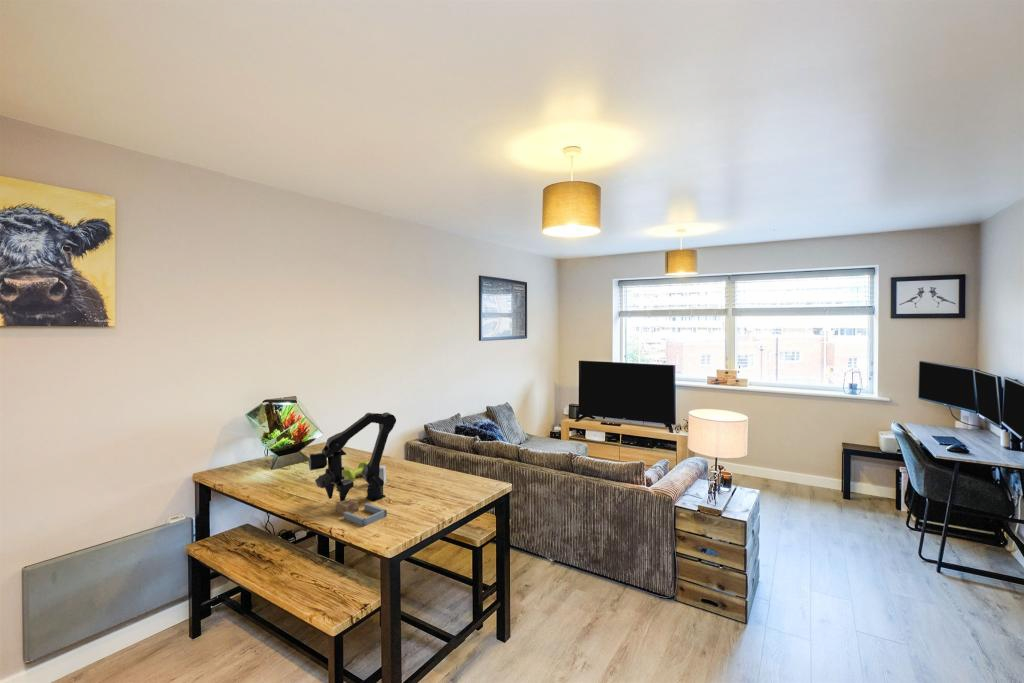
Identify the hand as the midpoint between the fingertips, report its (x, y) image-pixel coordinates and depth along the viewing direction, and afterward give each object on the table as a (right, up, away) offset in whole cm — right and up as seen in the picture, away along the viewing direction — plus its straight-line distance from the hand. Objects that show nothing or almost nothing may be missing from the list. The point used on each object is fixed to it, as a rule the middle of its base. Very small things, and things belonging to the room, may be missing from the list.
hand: (336, 500), depth 204 cm
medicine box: (+10, -1, +27) cm, 29 cm away
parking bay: (+16, -3, -11) cm, 20 cm away
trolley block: (+7, -3, -5) cm, 9 cm away
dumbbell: (-3, -1, +35) cm, 35 cm away
